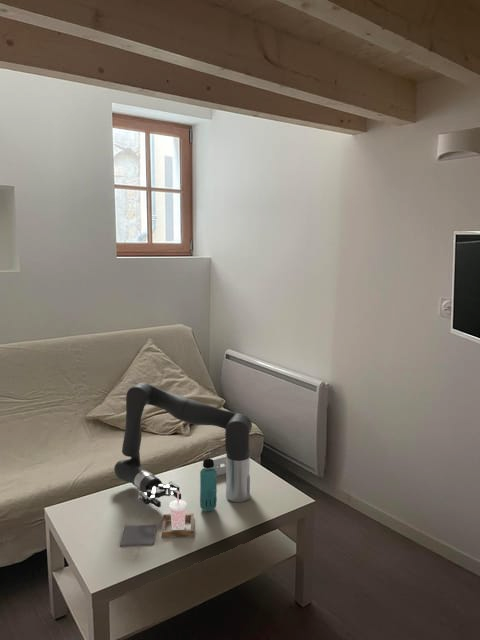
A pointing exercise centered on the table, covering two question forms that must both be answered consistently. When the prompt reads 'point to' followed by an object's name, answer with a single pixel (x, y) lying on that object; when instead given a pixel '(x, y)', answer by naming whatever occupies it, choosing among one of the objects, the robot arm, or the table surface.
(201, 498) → the beverage bottle
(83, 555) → the table surface
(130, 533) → the rubber mat
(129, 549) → the table surface
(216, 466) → the cassette
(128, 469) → the robot arm
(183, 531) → the walnut holder
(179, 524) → the beverage cup
